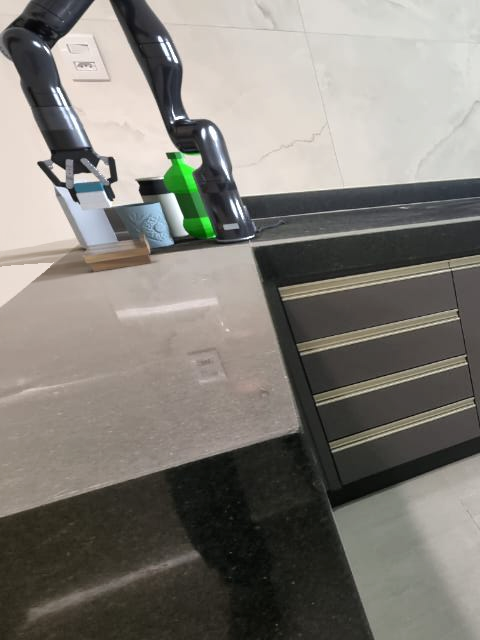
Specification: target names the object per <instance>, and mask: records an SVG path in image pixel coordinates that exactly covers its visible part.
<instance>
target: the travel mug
mask: <svg viewBox="0 0 480 640" xmlns="http://www.w3.org/2000/svg"><path fill="white" fill-rule="evenodd" d="M163 179H164V175H163V176H162V175H161V176H148V177H147V176H146V177H140V178H139V177H138V178H135V179H134V181H135V182H137V184H138V193H139V195H140V197H141V200H142V203H145V202H160V204H161V207H162V210H163V213H164V216H165V219H166V221H167V223H168V226H169V230H170V232H171V234H172V237H173V239H176V238H177V239H178V238H183V237H186V236H189V235H190V234H188V233H187V232H186V231H185V230H184V227H183V218H184V217H183V215H182V212H181V210H180V207H179V205H178V202H177V200H176V197H175V195H174V194H173V193H172V192H170V191H168V189H167V188H166V186H165V184H164V181H163Z"/></svg>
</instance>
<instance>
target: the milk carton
mask: <svg viewBox="0 0 480 640" xmlns="http://www.w3.org/2000/svg"><path fill="white" fill-rule="evenodd" d="M61 182H66V180H63V181H61ZM84 182H88V180H87V179H74V184H75V183H84ZM52 185H53V187H54V193H55V197H56V200H57V201H58V203H59V205H60V208H61V209H62V211H63V213H64V215H65V217H66V220H67V221H68V223H69V225H70V227H71V229H72V231H73V233H74V235H75V238H76V240H77V241H78V243H79V245H80V247H81V249H85V250H86V249H87V247H88V246H89V245H97V244H104V243H112V242H119V240H118V238H117V235H116V233H115V231H114V229H113V227H112V225H111V223H110V220H109V218H108V216H107V214H106V212H105V210H104V208H101V209H92V210H83V209H82V207H81V205H79V203H78V202H74V201H73V199H72V197H71V195H70V193H69V191H68V189H66V188H64V187H57V186H55V185H54V184H53V183H52Z"/></svg>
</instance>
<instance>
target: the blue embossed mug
mask: <svg viewBox="0 0 480 640" xmlns="http://www.w3.org/2000/svg"><path fill="white" fill-rule="evenodd" d="M114 210H115V212H116V213H117V215H118V217H119V218H120V219H121V221H122V224H123V225H124V226H125V228H126V230H127V232H128V234H129V235H130V236H131V240H134V239H140V232H144V233H145V235H146V237H147V240H148V242H149V245H150V250H151V249H157V248H163V247H164V248H165V247H169V246H172V245H174V244H175V241H174V238H173V237H172V234H171V232H170V230H169V226H168V223H167V221H166V219H165V216H164V213H163V210H162V207H161V204H160V202H145V203H144V202H137V203H129V204H123V205H118V206H117V205H116V206H114Z"/></svg>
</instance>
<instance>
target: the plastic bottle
mask: <svg viewBox="0 0 480 640" xmlns="http://www.w3.org/2000/svg"><path fill="white" fill-rule="evenodd" d="M165 156H166V158H167V160H170V162H171V166H170V167H169V168H168V169H167V171H166V172H165V173H164V175H163V176H164V179H163V181H164V184H165V186H166V188H167V189H168V191H170V192H172V193H173V194H174V195H175V197H176V200H177V202H178V205H179V207H180V210H181V212H182V215H183V217H184V218H183V227H184V230H185V231H186V232H187V233H188V234H189V235H190V236H191V237H194V238H196V239H197V240H207V239H212V238H216V236H215V233H214V231H213V228H212V225H211V223H210V220H209V218H208V215H207V212H206V210H205V207H204V205H203V202H202V199H201V197H200V194H199V192H198V189H197V186H196V184H195V181H194V179H193V176H192V172H193V171H194V170H195V169H196V168H194V167H192V166H190V165H189V164H187V163H186V161H185V159H186V155H185V154H183V153H181V152H180V151H172V152H171V151H170V152H169V151H168V152H165Z"/></svg>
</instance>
